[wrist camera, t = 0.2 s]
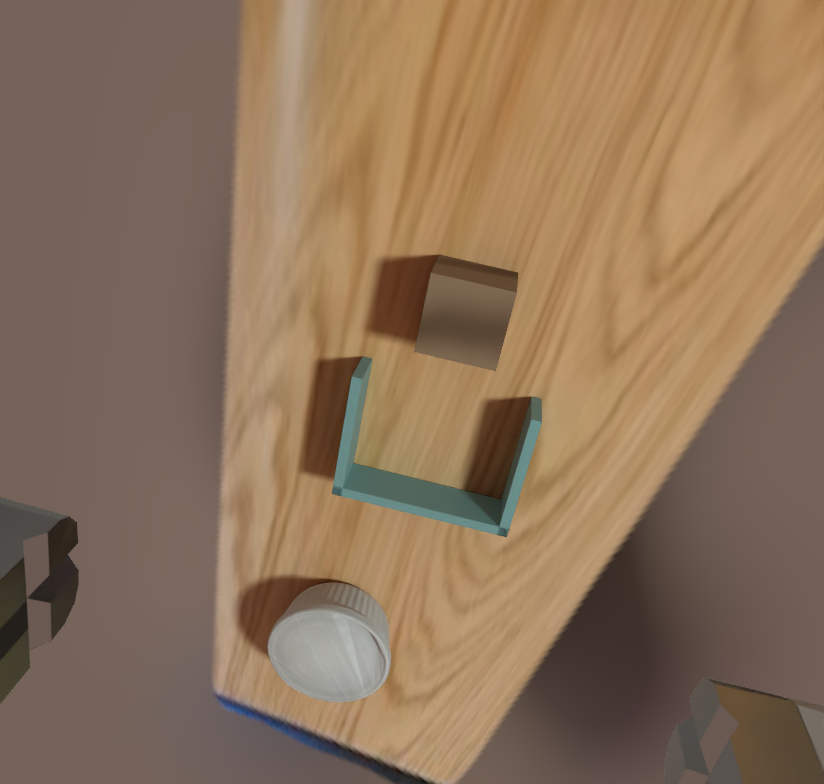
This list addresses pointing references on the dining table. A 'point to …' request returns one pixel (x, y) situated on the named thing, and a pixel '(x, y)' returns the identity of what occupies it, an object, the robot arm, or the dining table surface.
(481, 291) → the walnut tile block
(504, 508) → the box
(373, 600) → the ramekin
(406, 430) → the dining table surface
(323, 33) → the dining table surface
